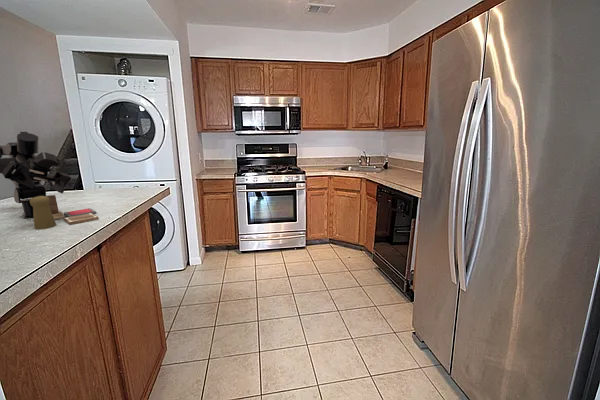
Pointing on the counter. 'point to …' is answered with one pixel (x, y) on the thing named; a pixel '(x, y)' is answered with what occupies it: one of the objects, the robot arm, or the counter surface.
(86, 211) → the ink pad
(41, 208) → the cork
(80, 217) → the stamp board
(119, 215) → the counter surface
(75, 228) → the counter surface
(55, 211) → the wooden stamp
